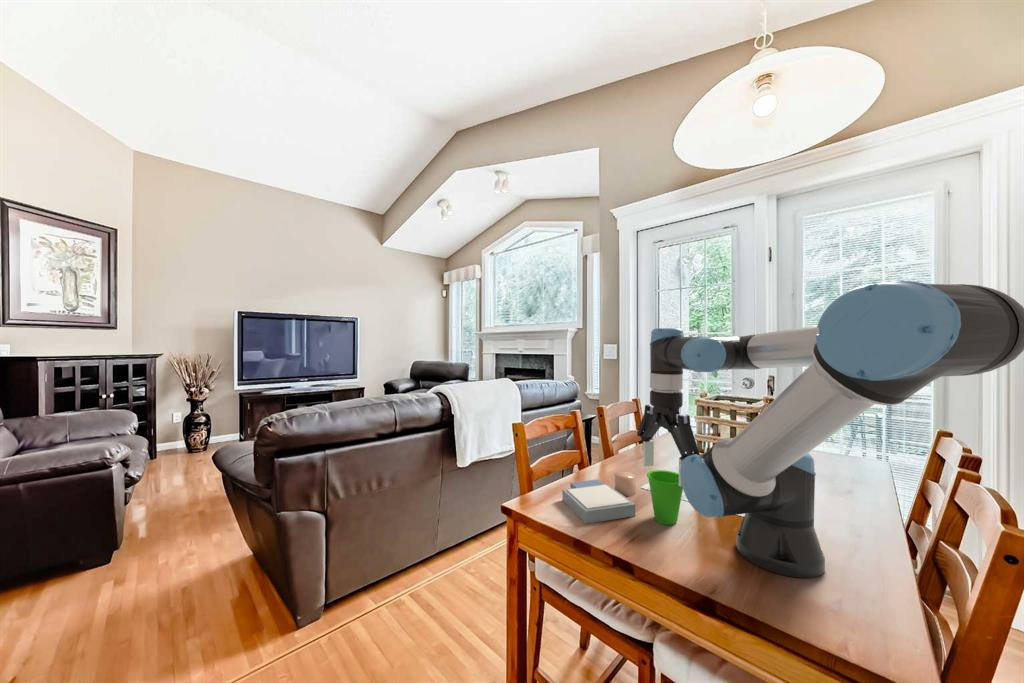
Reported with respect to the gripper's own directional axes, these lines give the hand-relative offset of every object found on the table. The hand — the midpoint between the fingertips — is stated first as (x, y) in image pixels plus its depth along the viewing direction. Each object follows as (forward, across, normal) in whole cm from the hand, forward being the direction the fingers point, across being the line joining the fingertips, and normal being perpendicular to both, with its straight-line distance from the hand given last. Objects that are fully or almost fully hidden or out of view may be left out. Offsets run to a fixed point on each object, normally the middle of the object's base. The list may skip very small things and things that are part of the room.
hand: (665, 475), depth 96 cm
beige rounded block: (+12, +18, 0) cm, 21 cm away
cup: (+11, 0, 0) cm, 11 cm away
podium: (+11, +10, +13) cm, 20 cm away
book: (+12, +21, +10) cm, 26 cm away
